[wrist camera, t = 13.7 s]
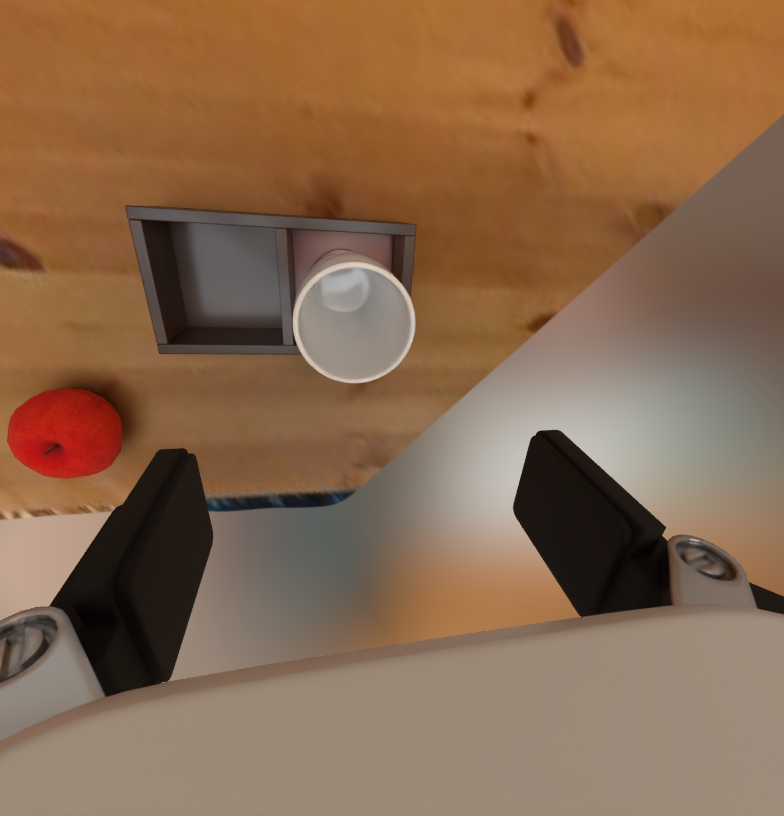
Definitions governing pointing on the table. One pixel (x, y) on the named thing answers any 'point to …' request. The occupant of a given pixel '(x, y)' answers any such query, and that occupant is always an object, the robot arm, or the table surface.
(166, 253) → the divided wooden box
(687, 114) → the table surface
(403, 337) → the tall white cup
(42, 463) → the apple
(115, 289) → the table surface
